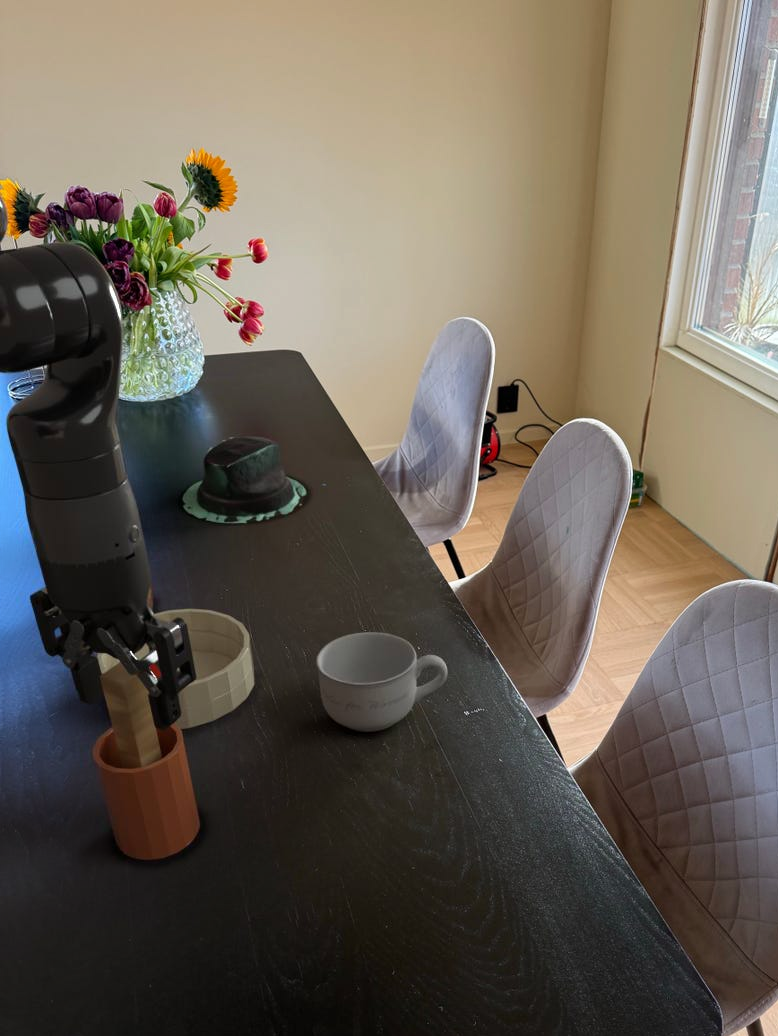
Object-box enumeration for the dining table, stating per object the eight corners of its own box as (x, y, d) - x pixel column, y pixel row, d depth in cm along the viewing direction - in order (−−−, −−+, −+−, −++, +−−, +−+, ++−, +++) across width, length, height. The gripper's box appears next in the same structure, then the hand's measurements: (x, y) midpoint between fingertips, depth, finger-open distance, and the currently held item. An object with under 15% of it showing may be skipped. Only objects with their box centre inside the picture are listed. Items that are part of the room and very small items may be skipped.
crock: (99, 848, 81) (73, 756, 75) (155, 797, 87) (134, 708, 81) (164, 874, 79) (141, 782, 73) (216, 820, 84) (200, 731, 78)
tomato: (135, 692, 100) (129, 666, 98) (157, 675, 103) (152, 650, 101) (161, 700, 99) (155, 674, 97) (182, 683, 102) (177, 658, 100)
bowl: (75, 709, 98) (63, 665, 95) (173, 638, 111) (165, 597, 107) (193, 751, 93) (184, 705, 90) (282, 671, 105) (277, 629, 102)
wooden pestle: (119, 838, 81) (76, 680, 72) (155, 805, 85) (119, 650, 75) (161, 855, 80) (123, 695, 70) (196, 820, 84) (164, 664, 74)
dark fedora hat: (272, 528, 135) (154, 515, 139) (318, 535, 153) (213, 524, 157) (281, 429, 134) (162, 419, 138) (327, 448, 152) (221, 439, 156)
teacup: (308, 738, 95) (302, 678, 91) (336, 680, 104) (332, 623, 100) (436, 753, 94) (436, 692, 89) (452, 693, 103) (453, 635, 98)
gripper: (-24, 537, 65) (32, 713, 74) (128, 580, 61) (168, 762, 70) (55, 500, 71) (98, 667, 80) (199, 536, 66) (227, 709, 75)
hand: (130, 711), depth 75 cm, fingers open, 7 cm apart
